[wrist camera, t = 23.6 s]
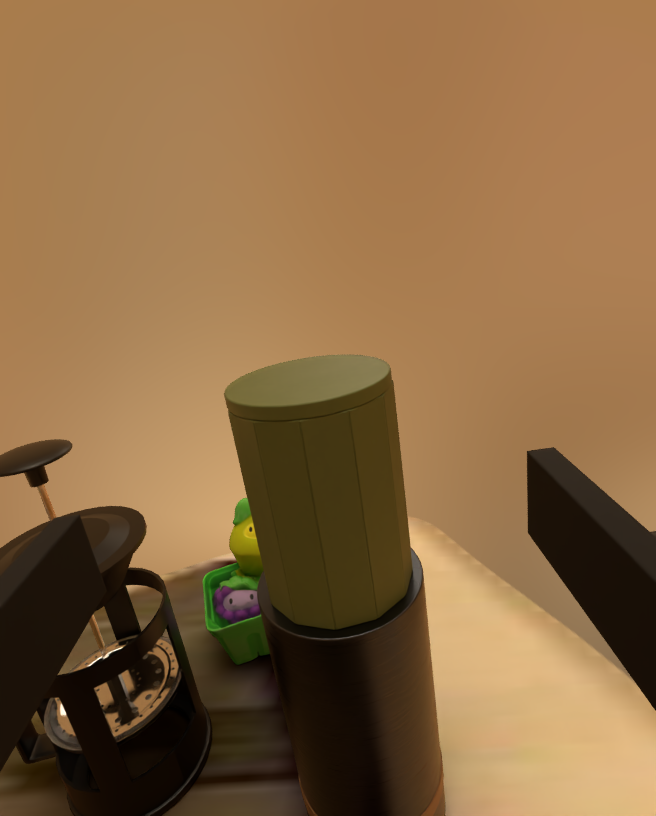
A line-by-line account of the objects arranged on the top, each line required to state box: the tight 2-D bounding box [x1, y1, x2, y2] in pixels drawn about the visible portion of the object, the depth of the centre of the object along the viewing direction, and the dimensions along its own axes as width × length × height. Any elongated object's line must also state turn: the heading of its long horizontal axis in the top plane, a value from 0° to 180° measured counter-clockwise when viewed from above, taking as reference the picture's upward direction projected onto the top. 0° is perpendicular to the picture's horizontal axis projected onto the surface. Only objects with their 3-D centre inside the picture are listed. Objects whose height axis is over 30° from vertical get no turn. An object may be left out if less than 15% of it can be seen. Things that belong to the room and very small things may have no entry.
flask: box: [257, 548, 445, 816], centre depth 26 cm, size 8×8×20 cm
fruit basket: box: [203, 498, 270, 665], centre depth 41 cm, size 11×9×11 cm
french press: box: [0, 440, 212, 816], centre depth 30 cm, size 12×9×23 cm
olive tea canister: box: [224, 355, 413, 630], centre depth 22 cm, size 7×7×10 cm
